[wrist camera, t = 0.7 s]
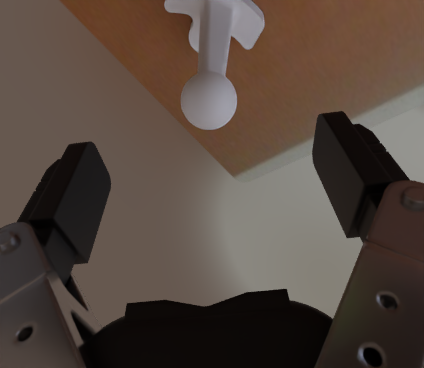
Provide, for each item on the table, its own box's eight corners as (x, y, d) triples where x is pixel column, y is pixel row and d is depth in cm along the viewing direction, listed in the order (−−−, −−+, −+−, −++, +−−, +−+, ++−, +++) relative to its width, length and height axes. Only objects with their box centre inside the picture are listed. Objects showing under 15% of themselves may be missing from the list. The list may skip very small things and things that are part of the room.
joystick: (270, 6, 34) (286, 125, 22) (238, 61, 39) (238, 179, 28) (178, -44, 30) (140, 65, 19) (158, 24, 36) (119, 141, 24)
